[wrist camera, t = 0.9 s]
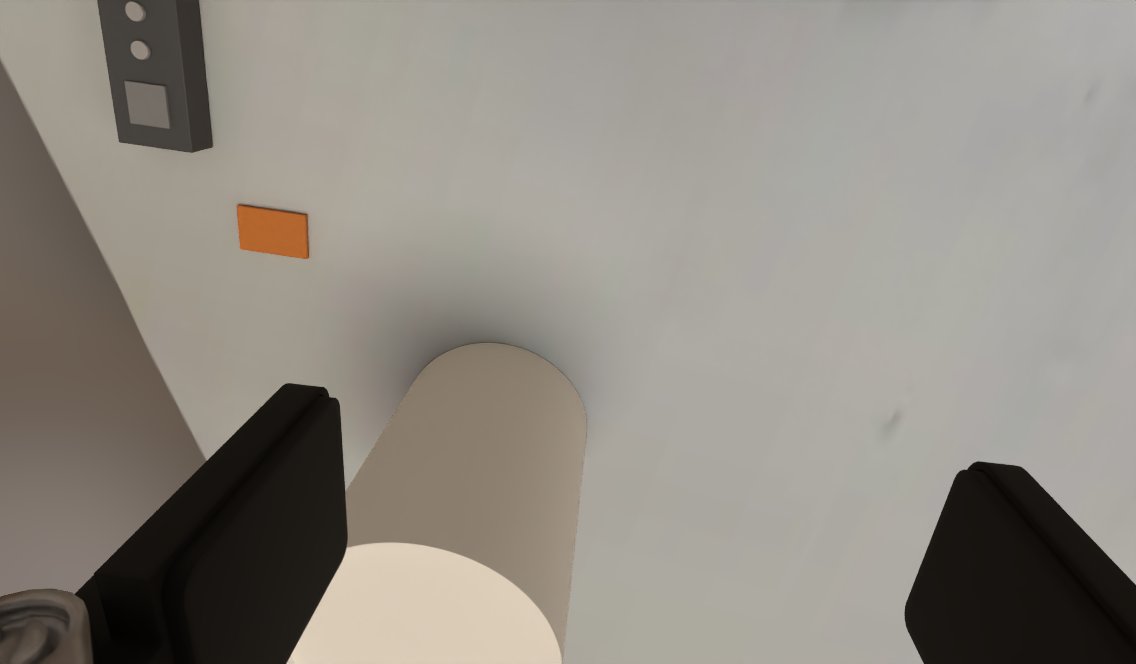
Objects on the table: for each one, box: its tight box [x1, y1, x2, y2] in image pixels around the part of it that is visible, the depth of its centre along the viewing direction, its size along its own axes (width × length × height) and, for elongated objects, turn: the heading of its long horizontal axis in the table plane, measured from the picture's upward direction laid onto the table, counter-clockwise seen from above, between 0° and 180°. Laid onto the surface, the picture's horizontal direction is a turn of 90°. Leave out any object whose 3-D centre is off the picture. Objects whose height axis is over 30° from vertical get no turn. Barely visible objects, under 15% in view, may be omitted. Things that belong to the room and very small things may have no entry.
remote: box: [97, 0, 212, 153], centre depth 38 cm, size 13×5×2 cm, turn 173°
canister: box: [286, 343, 587, 664], centre depth 40 cm, size 14×14×20 cm
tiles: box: [237, 205, 309, 259], centre depth 39 cm, size 26×5×1 cm, turn 173°
